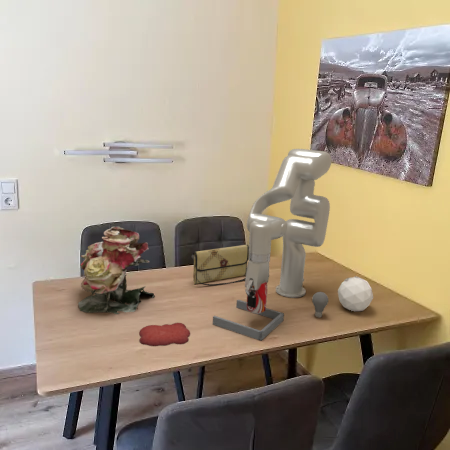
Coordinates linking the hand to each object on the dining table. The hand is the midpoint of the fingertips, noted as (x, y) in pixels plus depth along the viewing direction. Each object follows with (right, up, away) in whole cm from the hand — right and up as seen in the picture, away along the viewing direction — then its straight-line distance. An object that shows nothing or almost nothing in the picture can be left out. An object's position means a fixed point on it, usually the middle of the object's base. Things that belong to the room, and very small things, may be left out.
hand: (256, 302), depth 167 cm
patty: (-32, -10, -9) cm, 35 cm away
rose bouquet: (-55, -2, +14) cm, 57 cm away
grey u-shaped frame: (-3, -8, +3) cm, 9 cm away
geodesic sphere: (+39, -6, +18) cm, 44 cm away
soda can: (0, -3, +1) cm, 4 cm away
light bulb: (+24, -7, +10) cm, 27 cm away
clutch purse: (-12, +3, +39) cm, 41 cm away
